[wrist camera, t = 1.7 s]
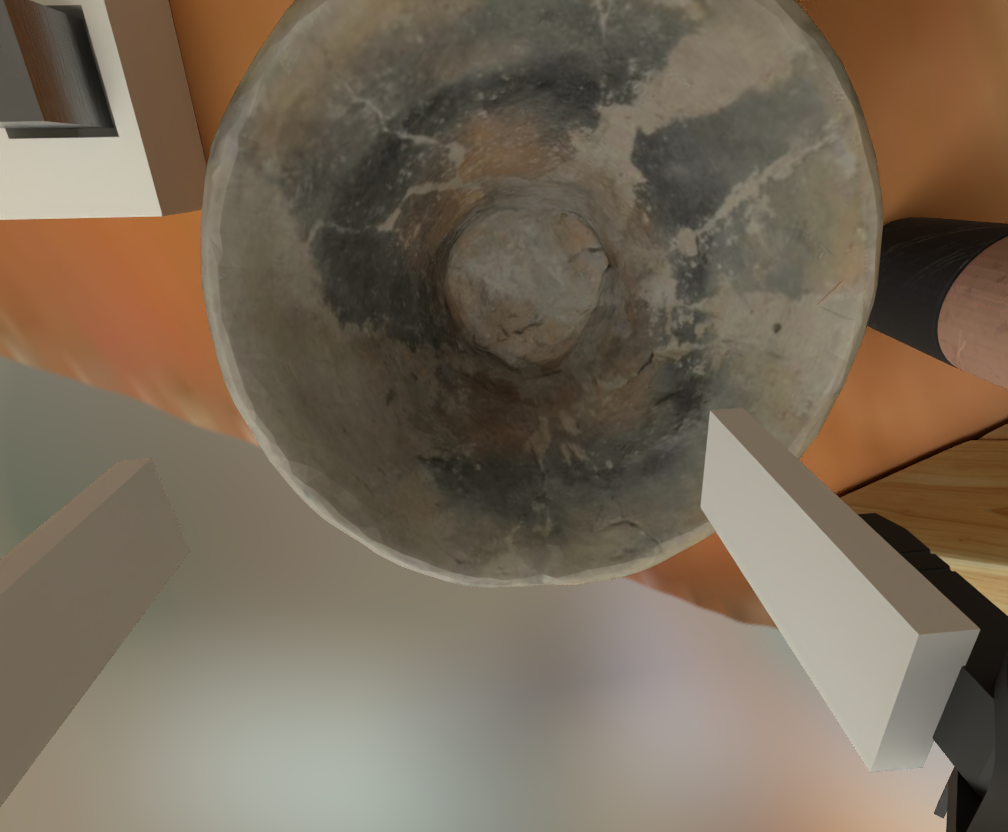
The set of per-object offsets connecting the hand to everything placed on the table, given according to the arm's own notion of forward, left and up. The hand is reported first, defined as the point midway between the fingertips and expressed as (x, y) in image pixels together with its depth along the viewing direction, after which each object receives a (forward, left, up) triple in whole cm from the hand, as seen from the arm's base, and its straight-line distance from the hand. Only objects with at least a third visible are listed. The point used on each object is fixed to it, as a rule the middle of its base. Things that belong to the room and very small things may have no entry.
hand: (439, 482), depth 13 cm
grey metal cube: (-11, -18, -18) cm, 28 cm away
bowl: (-1, +3, -24) cm, 24 cm away
